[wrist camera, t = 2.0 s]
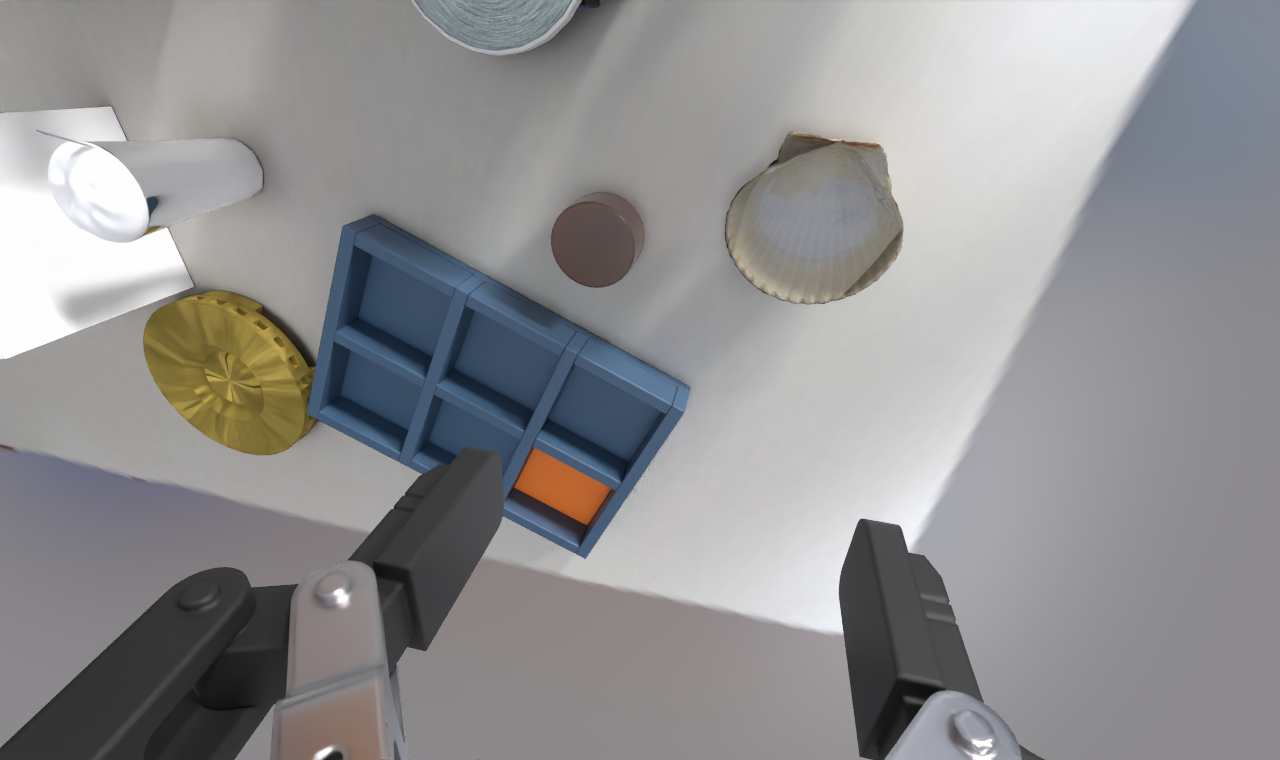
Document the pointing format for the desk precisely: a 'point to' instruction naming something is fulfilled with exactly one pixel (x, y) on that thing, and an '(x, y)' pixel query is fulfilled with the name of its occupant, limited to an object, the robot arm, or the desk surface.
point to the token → (597, 239)
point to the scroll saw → (500, 22)
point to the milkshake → (148, 182)
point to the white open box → (66, 241)
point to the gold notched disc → (230, 372)
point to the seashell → (816, 221)
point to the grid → (485, 383)
